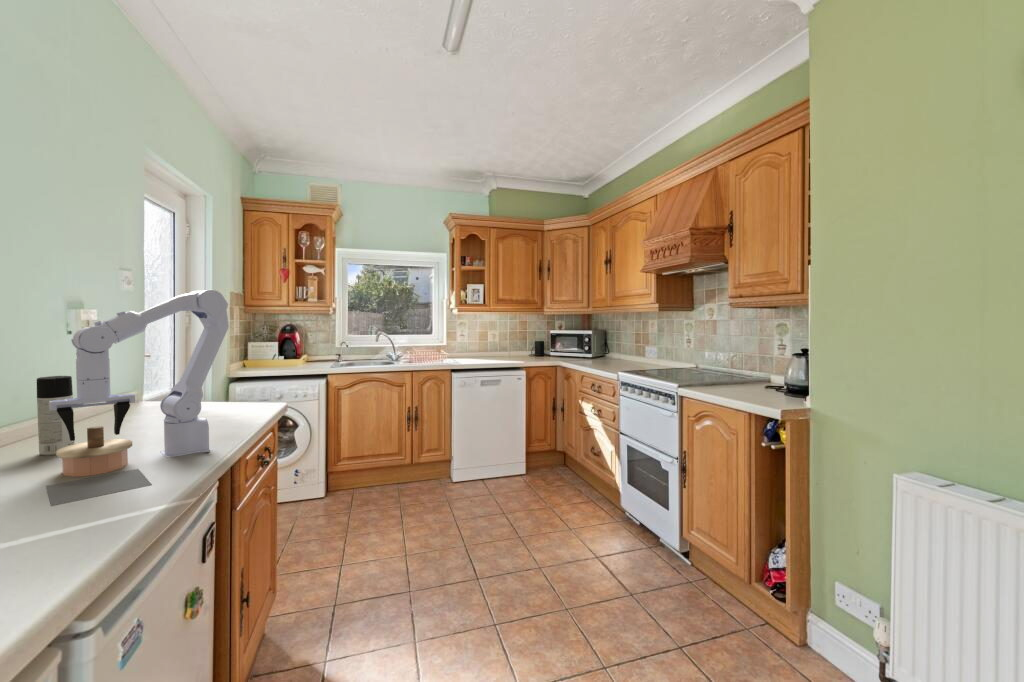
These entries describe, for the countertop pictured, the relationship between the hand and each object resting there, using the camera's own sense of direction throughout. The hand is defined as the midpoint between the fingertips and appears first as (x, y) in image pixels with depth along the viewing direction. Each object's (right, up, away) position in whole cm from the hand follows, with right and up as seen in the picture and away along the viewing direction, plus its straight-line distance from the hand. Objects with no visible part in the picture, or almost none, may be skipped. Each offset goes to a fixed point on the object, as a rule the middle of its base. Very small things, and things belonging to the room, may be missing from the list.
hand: (95, 436), depth 105 cm
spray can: (-23, -7, +14) cm, 28 cm away
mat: (+10, -9, -10) cm, 17 cm away
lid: (0, -3, 0) cm, 3 cm away
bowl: (0, -8, 0) cm, 8 cm away
